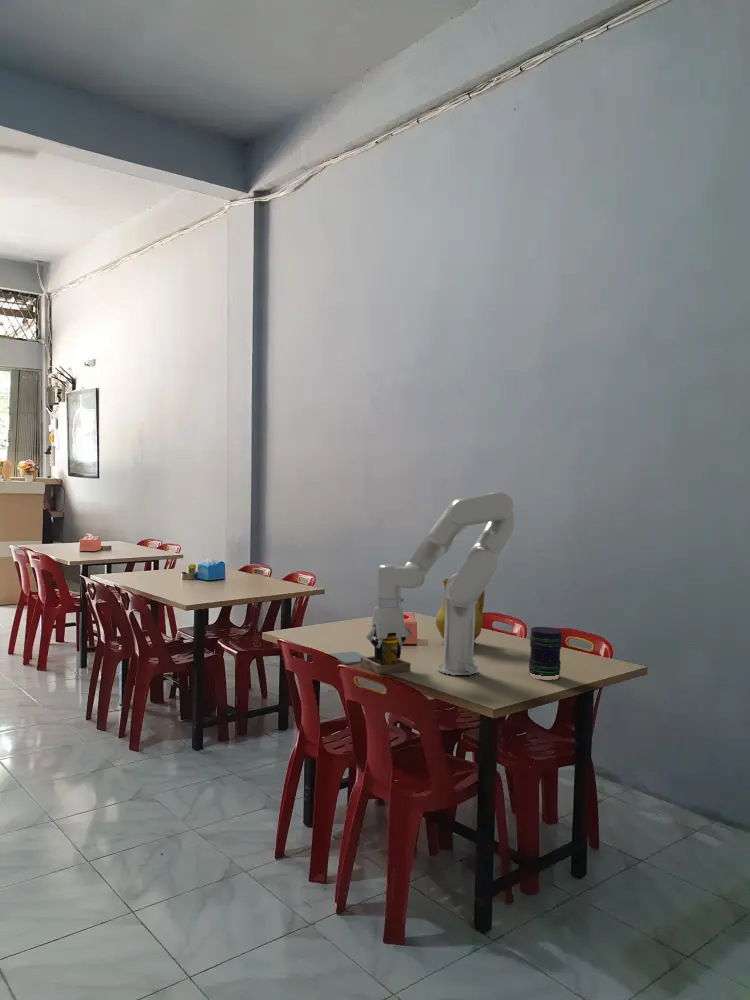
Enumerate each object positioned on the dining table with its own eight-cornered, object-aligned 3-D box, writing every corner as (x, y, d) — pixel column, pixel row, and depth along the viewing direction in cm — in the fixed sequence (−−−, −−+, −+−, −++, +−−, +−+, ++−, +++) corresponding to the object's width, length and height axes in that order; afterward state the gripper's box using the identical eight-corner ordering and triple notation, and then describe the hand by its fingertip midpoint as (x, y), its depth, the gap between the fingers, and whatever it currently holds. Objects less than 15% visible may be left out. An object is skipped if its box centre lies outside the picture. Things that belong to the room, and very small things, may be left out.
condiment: (401, 669, 247) (403, 632, 247) (378, 672, 243) (380, 634, 243) (390, 664, 254) (391, 628, 253) (367, 666, 250) (369, 630, 249)
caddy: (410, 671, 246) (410, 663, 246) (379, 674, 241) (379, 666, 241) (390, 662, 257) (391, 654, 257) (360, 664, 251) (360, 657, 251)
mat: (372, 661, 256) (372, 660, 256) (345, 664, 251) (345, 662, 251) (354, 653, 268) (354, 651, 268) (328, 655, 263) (328, 653, 263)
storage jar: (556, 673, 251) (558, 627, 250) (563, 681, 241) (565, 633, 241) (525, 671, 251) (527, 626, 250) (531, 680, 241) (533, 632, 241)
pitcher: (432, 638, 297) (434, 573, 296) (480, 640, 297) (483, 575, 297) (437, 648, 279) (440, 580, 279) (488, 650, 280) (491, 581, 279)
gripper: (405, 599, 256) (404, 653, 256) (359, 602, 247) (358, 658, 248) (417, 603, 249) (416, 658, 250) (370, 606, 241) (369, 663, 241)
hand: (387, 657), depth 249 cm, fingers closed on condiment, 6 cm apart
